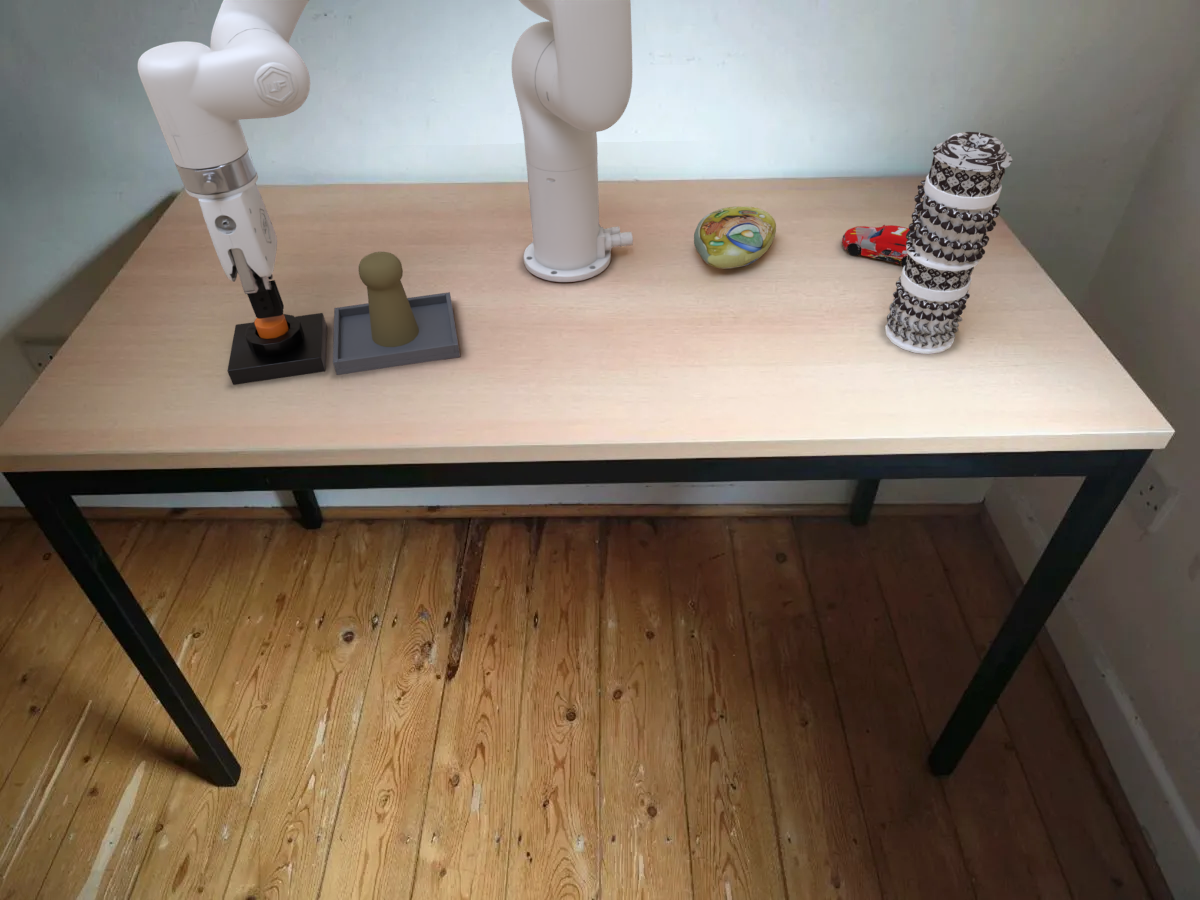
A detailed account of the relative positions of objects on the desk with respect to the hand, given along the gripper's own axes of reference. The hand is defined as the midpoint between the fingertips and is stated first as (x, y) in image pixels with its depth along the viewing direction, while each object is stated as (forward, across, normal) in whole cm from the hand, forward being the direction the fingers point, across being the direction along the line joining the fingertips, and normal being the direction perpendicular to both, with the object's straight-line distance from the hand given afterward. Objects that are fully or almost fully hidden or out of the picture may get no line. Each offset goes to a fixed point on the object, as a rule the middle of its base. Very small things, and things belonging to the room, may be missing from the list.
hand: (270, 313), depth 102 cm
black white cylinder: (+7, -16, -79) cm, 81 cm away
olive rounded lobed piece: (+6, 0, -14) cm, 15 cm away
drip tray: (+6, 0, -14) cm, 15 cm away
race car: (+8, +3, -84) cm, 84 cm away
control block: (+6, 0, 0) cm, 6 cm away
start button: (+3, 0, 0) cm, 3 cm away
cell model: (+7, +9, -63) cm, 64 cm away
